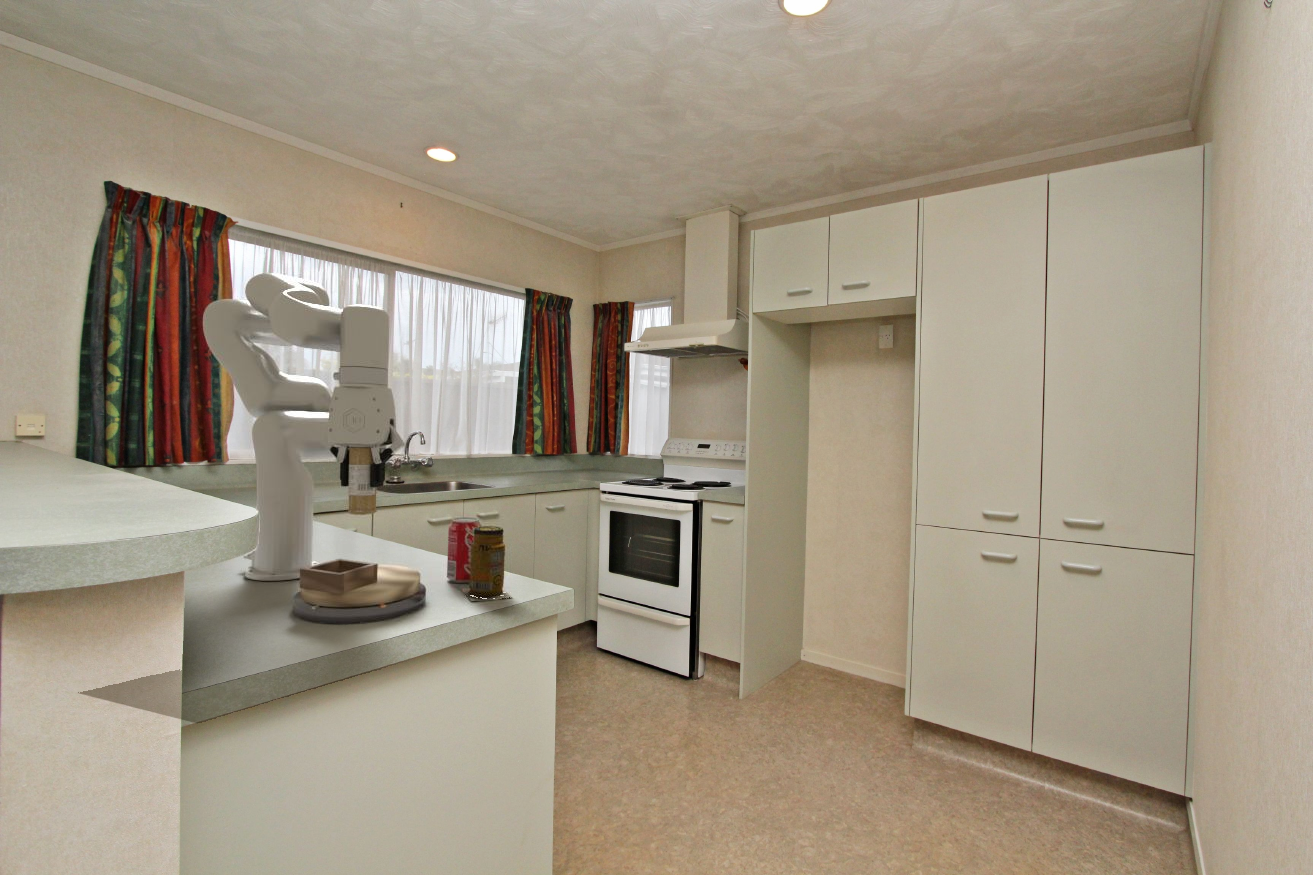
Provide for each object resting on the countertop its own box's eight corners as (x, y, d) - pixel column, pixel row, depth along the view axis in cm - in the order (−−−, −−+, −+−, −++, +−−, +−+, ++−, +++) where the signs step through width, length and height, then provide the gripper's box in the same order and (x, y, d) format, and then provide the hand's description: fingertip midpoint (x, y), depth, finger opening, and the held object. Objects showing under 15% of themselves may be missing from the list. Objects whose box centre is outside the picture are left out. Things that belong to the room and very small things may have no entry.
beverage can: (484, 577, 123) (487, 517, 123) (472, 585, 117) (474, 522, 117) (455, 575, 124) (457, 515, 123) (441, 583, 118) (443, 520, 117)
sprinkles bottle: (377, 511, 108) (379, 435, 108) (375, 514, 104) (376, 435, 104) (349, 511, 107) (350, 434, 106) (345, 515, 102) (346, 435, 102)
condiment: (500, 586, 117) (502, 524, 117) (512, 598, 110) (515, 532, 110) (461, 589, 114) (463, 525, 114) (470, 602, 107) (473, 534, 106)
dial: (359, 572, 114) (360, 544, 114) (441, 583, 109) (442, 554, 109) (273, 597, 97) (274, 565, 97) (366, 613, 92) (367, 578, 92)
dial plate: (262, 613, 96) (262, 598, 96) (358, 582, 115) (359, 570, 115) (366, 631, 90) (366, 616, 90) (449, 595, 110) (450, 583, 110)
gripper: (302, 376, 102) (301, 486, 102) (400, 378, 100) (398, 490, 101) (330, 380, 109) (328, 482, 110) (422, 382, 108) (420, 485, 108)
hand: (362, 485), depth 105 cm, fingers closed on sprinkles bottle, 4 cm apart
